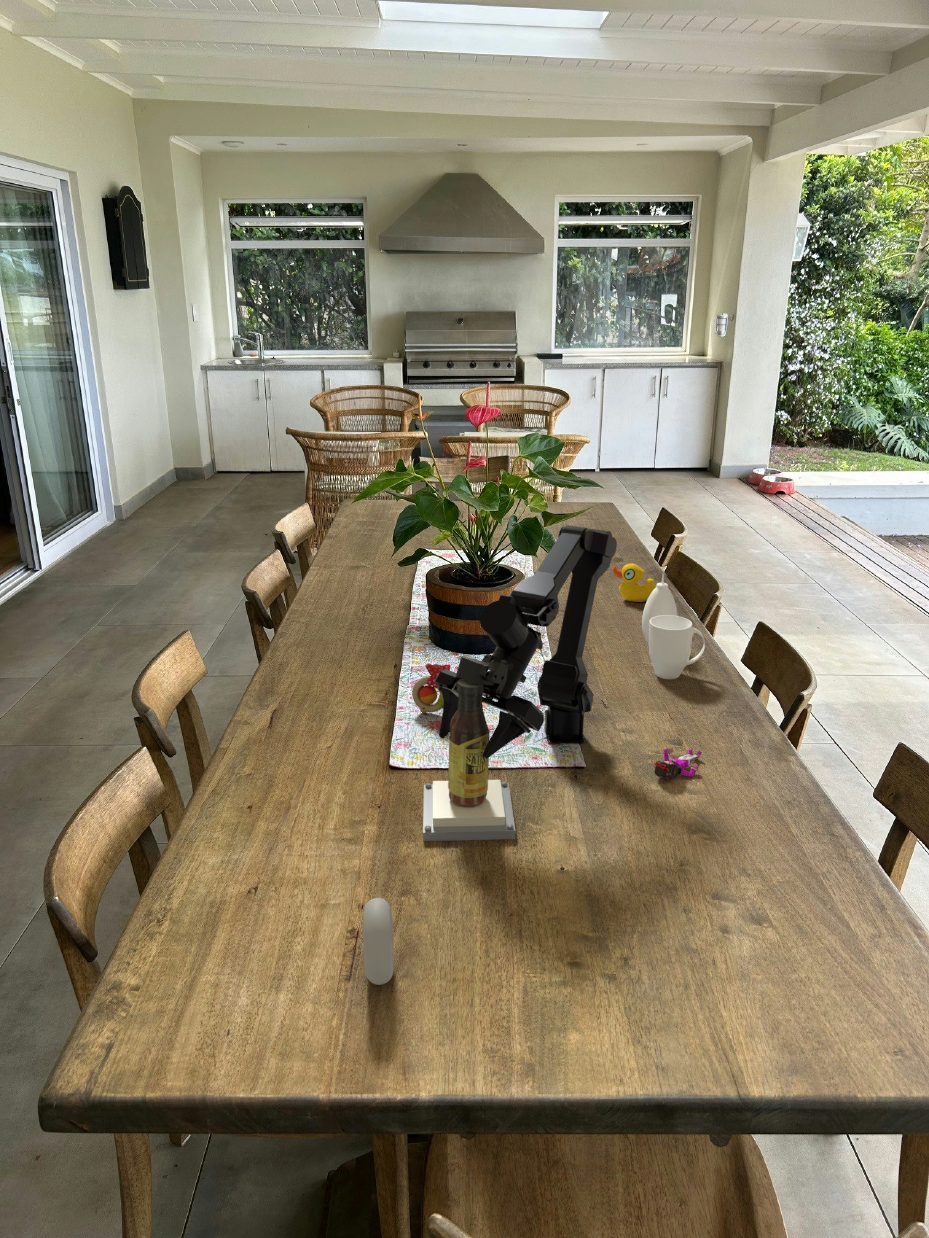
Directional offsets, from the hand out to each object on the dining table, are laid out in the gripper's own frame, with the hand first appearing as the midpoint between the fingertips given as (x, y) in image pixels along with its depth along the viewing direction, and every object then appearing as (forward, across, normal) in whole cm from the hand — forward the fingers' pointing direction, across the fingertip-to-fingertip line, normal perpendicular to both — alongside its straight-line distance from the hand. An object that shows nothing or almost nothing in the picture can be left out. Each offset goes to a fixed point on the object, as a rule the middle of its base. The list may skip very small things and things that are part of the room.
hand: (462, 747), depth 141 cm
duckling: (-65, -37, +84) cm, 112 cm away
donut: (+32, +16, -14) cm, 38 cm away
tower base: (+8, 0, +10) cm, 13 cm away
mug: (-41, -5, +59) cm, 72 cm away
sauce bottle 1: (+6, 0, +8) cm, 10 cm away
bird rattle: (-7, -29, +25) cm, 39 cm away
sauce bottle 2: (-49, -16, +67) cm, 84 cm away
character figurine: (-16, +18, +35) cm, 42 cm away
